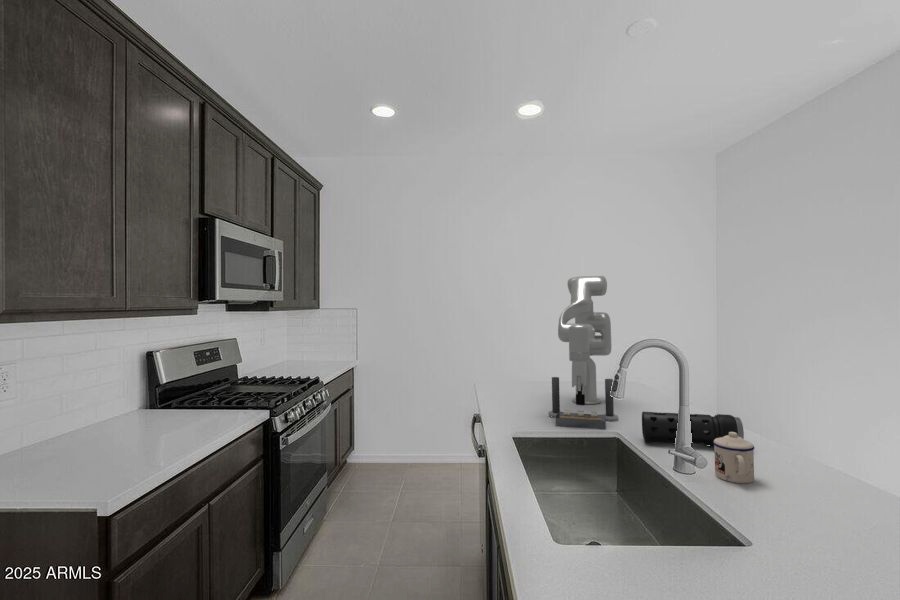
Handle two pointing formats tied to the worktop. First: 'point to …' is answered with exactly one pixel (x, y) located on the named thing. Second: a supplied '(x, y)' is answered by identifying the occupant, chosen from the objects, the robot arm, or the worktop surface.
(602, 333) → the robot arm
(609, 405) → the post
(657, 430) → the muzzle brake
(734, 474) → the teacup with lid
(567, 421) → the breaker panel
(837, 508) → the worktop surface
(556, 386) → the post
